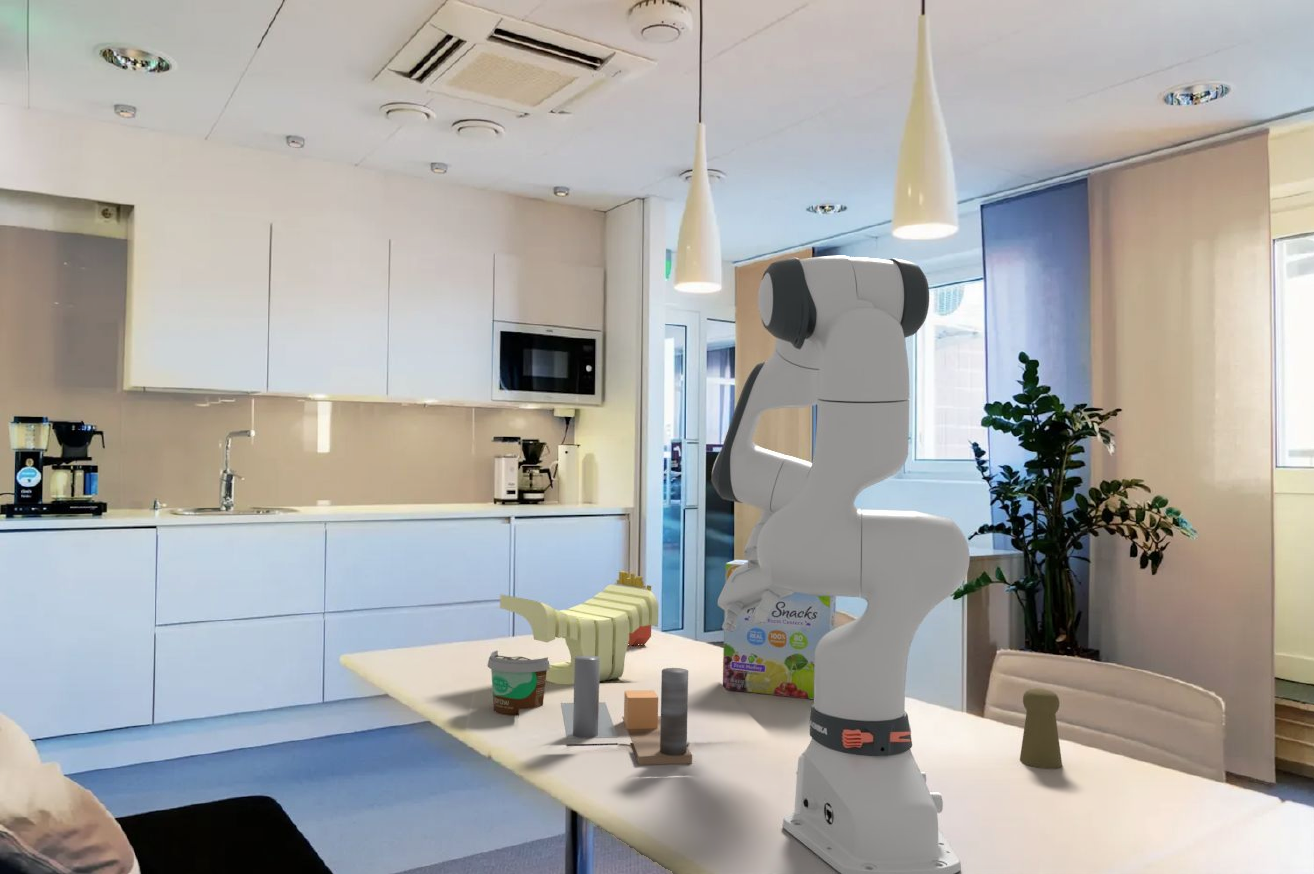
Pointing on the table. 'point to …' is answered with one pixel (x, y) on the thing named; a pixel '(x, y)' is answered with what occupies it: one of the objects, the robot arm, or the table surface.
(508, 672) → the food container
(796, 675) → the snack box
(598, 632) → the slatted curved stool
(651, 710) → the terracotta block
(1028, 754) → the olive green pawn
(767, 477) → the robot arm
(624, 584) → the french fries container
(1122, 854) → the table surface
